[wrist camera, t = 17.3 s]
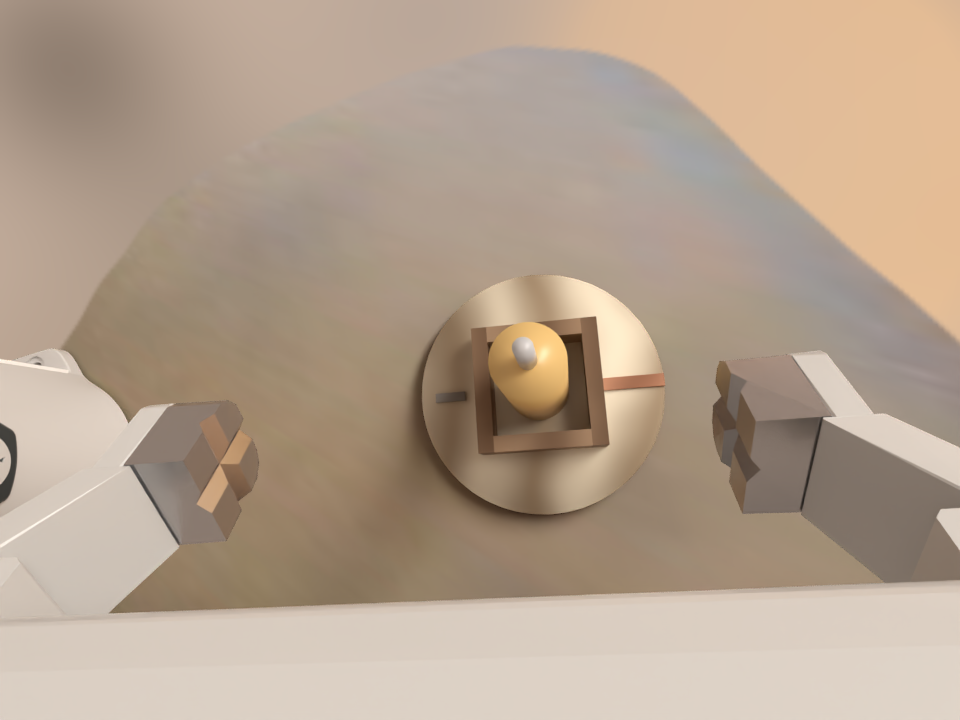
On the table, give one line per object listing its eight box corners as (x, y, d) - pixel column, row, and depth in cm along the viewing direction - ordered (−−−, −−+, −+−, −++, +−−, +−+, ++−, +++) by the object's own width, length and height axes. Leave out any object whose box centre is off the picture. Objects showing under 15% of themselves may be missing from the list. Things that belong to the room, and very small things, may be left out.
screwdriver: (510, 422, 40) (481, 394, 28) (506, 363, 41) (476, 309, 28) (571, 417, 40) (570, 387, 27) (566, 357, 41) (562, 301, 28)
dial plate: (431, 520, 41) (418, 523, 37) (421, 292, 44) (408, 276, 41) (676, 506, 39) (686, 508, 35) (646, 268, 42) (653, 249, 39)
